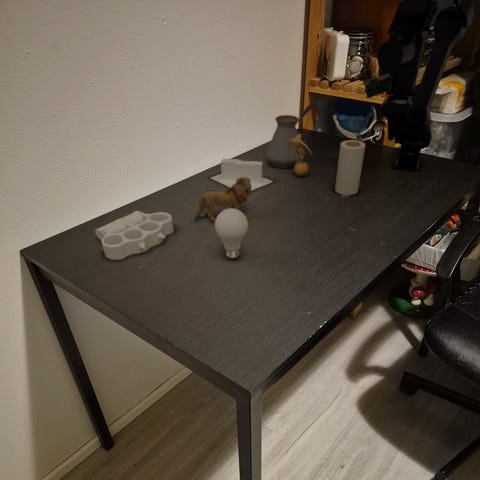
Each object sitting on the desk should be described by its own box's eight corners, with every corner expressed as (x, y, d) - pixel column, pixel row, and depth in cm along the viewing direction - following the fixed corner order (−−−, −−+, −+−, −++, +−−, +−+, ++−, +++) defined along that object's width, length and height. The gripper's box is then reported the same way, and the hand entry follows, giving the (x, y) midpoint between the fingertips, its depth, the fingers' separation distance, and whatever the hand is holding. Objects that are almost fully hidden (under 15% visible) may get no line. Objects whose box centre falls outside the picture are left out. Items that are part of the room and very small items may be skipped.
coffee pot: (288, 173, 122) (291, 118, 112) (258, 164, 128) (258, 111, 118) (328, 152, 133) (334, 100, 124) (299, 144, 139) (302, 95, 129)
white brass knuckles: (147, 215, 105) (186, 233, 98) (84, 244, 95) (123, 268, 88) (144, 202, 103) (185, 220, 96) (80, 231, 93) (120, 254, 86)
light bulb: (252, 252, 91) (252, 204, 84) (242, 268, 86) (241, 220, 79) (223, 247, 93) (220, 200, 86) (212, 263, 88) (208, 215, 81)
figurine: (316, 177, 119) (320, 133, 112) (304, 184, 116) (307, 139, 108) (293, 169, 124) (295, 127, 116) (280, 176, 121) (282, 132, 113)
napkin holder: (273, 181, 118) (274, 161, 114) (243, 194, 113) (243, 173, 109) (238, 167, 127) (238, 147, 123) (209, 178, 121) (207, 158, 117)
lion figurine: (247, 206, 107) (247, 171, 101) (255, 215, 103) (255, 180, 97) (192, 217, 104) (188, 182, 98) (197, 227, 100) (194, 191, 94)
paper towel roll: (359, 187, 114) (337, 184, 115) (367, 141, 106) (343, 139, 107) (355, 196, 109) (332, 193, 111) (363, 149, 101) (338, 147, 103)
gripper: (376, 54, 105) (365, 120, 115) (364, 70, 92) (353, 143, 102) (423, 55, 101) (408, 124, 112) (418, 72, 88) (401, 148, 99)
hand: (392, 134), depth 106 cm, fingers open, 9 cm apart
